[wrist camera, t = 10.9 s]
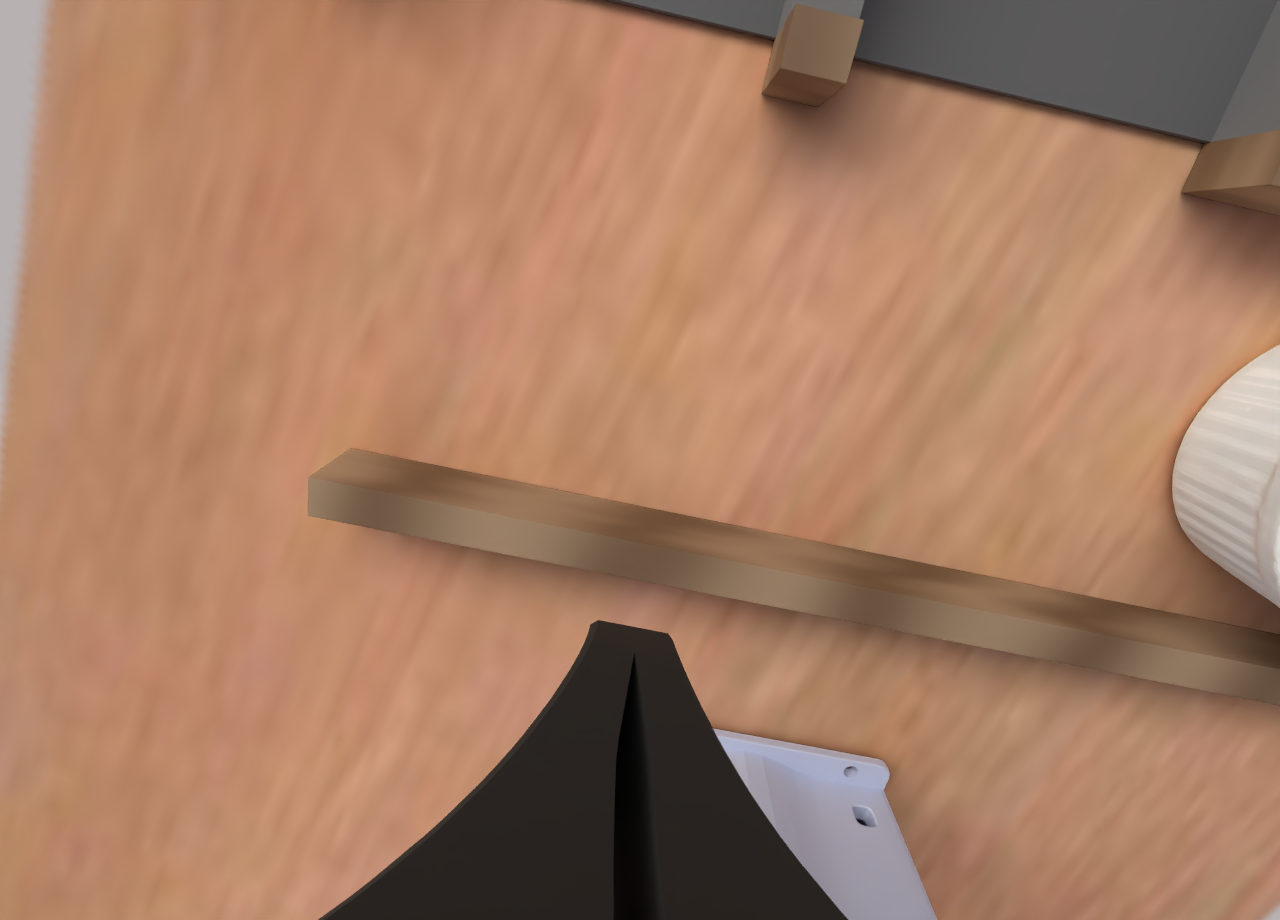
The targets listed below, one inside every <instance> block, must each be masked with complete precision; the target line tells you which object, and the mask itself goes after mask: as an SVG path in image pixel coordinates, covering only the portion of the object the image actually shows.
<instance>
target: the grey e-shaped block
mask: <svg viewBox="0 0 1280 920" xmlns="http://www.w3.org/2000/svg"><path fill="white" fill-rule="evenodd" d="M608 1H613V2H617V3H621V4H625V5H629V6H633V7H638V8H642V9H646V10H650V11H654V12H659V13H663V14H667V15H671V16H675V17H679V18H684V19H688V20H692V21H696V22H700V23H705V24H709V25H713V26H717V27H721V28H725V29H730V30H734V31H738V32H742V33H746V34H750V35H755V36H759V37H763V38H767V39H771V40H775V38H776V37H777V35H778V33H779V32H780V30H781V28H782V27H783V25H784V23H785V21H786V20H787V18H788V16H789V15H790V13H791V11H792V10H793V8H794V6H795V4H800V5H804V6H808V7H812V8H817V9H821V10H825V11H829V12H833V13H837V14H841V15H845V16H849V17H854V18H858V19H862V20H864V22H863V26H862V29H861V33H860V37H859V40H858V44H857V47H856V51H855V54H854V58H853V59H855V60H859V61H863V62H867V63H872V64H876V65H880V66H884V67H888V68H892V69H897V70H901V71H905V72H909V73H913V74H918V75H922V76H926V77H930V78H934V79H938V80H943V81H947V82H951V83H955V84H959V85H964V86H968V87H972V88H976V89H980V90H984V91H989V92H993V93H997V94H1001V95H1005V96H1009V97H1014V98H1018V99H1022V100H1026V101H1030V102H1035V103H1039V104H1043V105H1047V106H1051V107H1055V108H1060V109H1064V110H1068V111H1072V112H1076V113H1080V114H1085V115H1089V116H1093V117H1097V118H1101V119H1106V120H1110V121H1114V122H1118V123H1122V124H1126V125H1131V126H1135V127H1139V128H1143V129H1147V130H1151V131H1156V132H1160V133H1164V134H1168V135H1172V136H1177V137H1181V138H1185V139H1189V140H1193V141H1197V142H1202V143H1208V142H1213V141H1219V140H1225V139H1230V138H1236V137H1241V136H1247V135H1252V134H1258V133H1264V132H1269V131H1275V130H1280V0H608Z"/></svg>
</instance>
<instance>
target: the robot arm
mask: <svg viewBox="0 0 1280 920" xmlns="http://www.w3.org/2000/svg"><path fill="white" fill-rule="evenodd" d="M850 766H853V767H851V768H849V769H845V768H847V767H850ZM889 777H890V772H889V769H888V767H887V765H886V763H885V762H884V761H883V760H880V759H876V758H871V757H865V756H860V755H854V754H849V753H844V752H838V751H833V750H827V749H822V748H817V747H811V746H806V745H800V744H795V743H789V742H784V741H779V740H773V739H768V738H762V737H757V736H752V735H746V734H741V733H735V732H730V731H725V730H719V729H714V728H712V726H711V724H710V722H709V720H708V718H707V716H706V714H705V712H704V710H703V708H702V706H701V705H700V702H699V700H698V698H697V696H696V694H695V692H694V690H693V688H692V686H691V683H690V681H689V679H688V677H687V675H686V672H685V670H684V668H683V665H682V663H681V660H680V658H679V656H678V653H677V651H676V648H675V645H674V643H673V640H672V639H671V637H670V636H669V634H668V633H662V632H657V631H652V630H647V629H641V628H636V627H631V626H626V625H621V624H615V623H610V622H605V621H600V620H598V621H596V622H594V623H592V624H591V625H590V629H589V632H588V635H587V638H586V640H585V643H584V645H583V647H582V649H581V651H580V653H579V655H578V657H577V658H576V660H575V662H574V664H573V666H572V667H571V669H570V671H569V672H568V674H567V675H566V677H565V678H564V680H563V681H562V683H561V684H560V686H559V687H558V689H557V691H556V692H555V694H554V695H553V697H552V698H551V699H550V701H549V702H548V704H547V705H546V706H545V707H544V709H543V710H542V711H541V713H540V714H539V715H538V717H537V718H536V719H535V720H534V722H533V723H532V724H531V726H530V727H529V728H528V730H527V731H526V732H525V733H524V735H523V736H522V737H521V738H520V739H519V741H518V742H517V743H516V744H515V745H514V747H513V748H512V749H511V750H510V751H509V752H508V753H507V755H506V756H505V757H504V758H503V759H502V760H501V761H500V762H499V763H498V765H497V766H496V767H495V768H494V769H493V770H492V771H491V772H490V773H489V774H488V775H487V776H486V778H485V779H484V780H483V781H482V782H481V783H480V784H479V785H478V786H477V787H476V788H475V789H474V790H473V791H472V792H471V793H470V794H469V795H467V796H466V797H465V798H464V799H463V800H462V801H461V802H460V803H459V804H458V805H457V806H456V807H455V808H454V809H453V810H452V811H451V812H450V813H449V814H448V815H447V816H446V817H445V818H444V819H443V820H442V821H440V822H439V823H438V824H437V825H436V826H435V827H434V828H433V829H432V830H431V831H429V832H428V833H427V834H426V835H425V836H424V837H422V838H421V839H420V840H419V841H418V842H416V843H415V844H414V845H413V846H412V847H410V848H409V849H408V850H407V851H406V852H404V853H403V854H402V855H401V856H400V857H399V858H397V859H396V860H395V861H394V862H393V863H391V864H390V865H389V866H388V867H387V868H385V869H384V870H383V871H382V872H381V873H379V874H378V875H377V876H376V877H375V878H373V879H372V880H371V881H370V882H368V883H367V884H366V885H365V886H363V887H362V888H361V889H359V890H358V891H357V892H356V893H354V894H353V895H352V896H350V897H349V898H348V899H346V900H345V901H343V902H342V903H341V904H339V905H338V906H337V907H335V908H334V909H332V910H331V911H330V912H328V913H327V914H325V915H324V916H323V917H321V918H320V919H319V920H937V918H936V915H935V913H934V910H933V908H932V906H931V903H930V901H929V898H928V896H927V894H926V891H925V889H924V886H923V884H922V882H921V879H920V877H919V874H918V872H917V869H916V867H915V865H914V862H913V860H912V857H911V855H910V853H909V850H908V848H907V845H906V843H905V841H904V838H903V836H902V833H901V831H900V829H899V826H898V824H897V821H896V819H895V816H894V814H893V812H892V809H891V807H890V804H889V802H888V800H887V797H886V795H885V792H884V789H885V787H886V784H887V782H888V780H889Z"/></svg>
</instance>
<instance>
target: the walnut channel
mask: <svg viewBox="0 0 1280 920" xmlns="http://www.w3.org/2000/svg"><path fill="white" fill-rule="evenodd" d="M863 22H864V20H862V19H858V18H854V17H849V16H845V15H841V14H837V13H833V12H829V11H825V10H821V9H817V8H812V7H808V6H804V5H800V4H795V6H794V8H793V10H792V11H791V13H790V15H789V16H788V18H787V20H786V21H785V23H784V25H783V27H782V28H781V30H780V32H779V33H778V35H777V37H776V38H775V40H774V44H773V48H772V52H771V57H770V61H769V65H768V69H767V73H766V77H765V81H764V86H763V90H762V94H764V95H768V96H772V97H777V98H781V99H785V100H789V101H794V102H798V103H802V104H806V105H811V106H815V107H819V106H820V105H821V104H822V103H823V102H825V101H826V100H827V99H828V98H829V97H831V96H832V95H833V94H834V93H836V92H837V91H838V90H839V89H840V88H842V87H843V86H844V85H845V84H846V83H847V79H848V76H849V72H850V69H851V65H852V61H853V58H854V54H855V51H856V47H857V44H858V40H859V37H860V33H861V29H862V26H863ZM1181 193H1185V194H1189V195H1194V196H1198V197H1202V198H1206V199H1211V200H1215V201H1219V202H1223V203H1228V204H1232V205H1236V206H1240V207H1245V208H1249V209H1253V210H1257V211H1262V212H1266V213H1270V214H1274V215H1279V216H1280V130H1275V131H1269V132H1264V133H1258V134H1252V135H1247V136H1241V137H1236V138H1230V139H1225V140H1219V141H1213V142H1208V143H1204V145H1203V147H1202V149H1201V151H1200V153H1199V156H1198V158H1197V160H1196V162H1195V164H1194V166H1193V168H1192V170H1191V173H1190V175H1189V177H1188V179H1187V181H1186V183H1185V185H1184V187H1183V190H1182V192H1181ZM308 516H312V517H317V518H322V519H327V520H332V521H338V522H343V523H348V524H353V525H358V526H363V527H368V528H373V529H378V530H384V531H389V532H394V533H399V534H404V535H409V536H414V537H419V538H425V539H430V540H435V541H440V542H445V543H450V544H455V545H460V546H466V547H471V548H476V549H481V550H486V551H491V552H496V553H501V554H507V555H512V556H517V557H522V558H527V559H532V560H537V561H542V562H548V563H553V564H558V565H563V566H568V567H573V568H578V569H583V570H589V571H594V572H599V573H604V574H609V575H614V576H619V577H624V578H630V579H635V580H640V581H645V582H650V583H655V584H660V585H665V586H671V587H676V588H681V589H686V590H691V591H696V592H701V593H706V594H712V595H717V596H722V597H727V598H732V599H737V600H742V601H747V602H753V603H758V604H763V605H768V606H773V607H778V608H783V609H788V610H794V611H799V612H804V613H809V614H814V615H819V616H824V617H829V618H835V619H840V620H845V621H850V622H855V623H860V624H865V625H870V626H875V627H881V628H886V629H891V630H896V631H901V632H906V633H911V634H916V635H922V636H927V637H932V638H937V639H942V640H947V641H952V642H957V643H963V644H968V645H973V646H978V647H983V648H988V649H993V650H998V651H1004V652H1009V653H1014V654H1019V655H1024V656H1029V657H1034V658H1039V659H1045V660H1050V661H1055V662H1060V663H1065V664H1070V665H1075V666H1080V667H1086V668H1091V669H1096V670H1101V671H1106V672H1111V673H1116V674H1121V675H1127V676H1132V677H1137V678H1142V679H1147V680H1152V681H1157V682H1162V683H1168V684H1173V685H1178V686H1183V687H1188V688H1193V689H1198V690H1203V691H1209V692H1214V693H1219V694H1224V695H1229V696H1234V697H1239V698H1244V699H1250V700H1255V701H1260V702H1265V703H1270V704H1275V705H1280V635H1278V634H1273V633H1268V632H1263V631H1258V630H1253V629H1248V628H1243V627H1238V626H1233V625H1228V624H1223V623H1218V622H1213V621H1208V620H1203V619H1198V618H1193V617H1188V616H1183V615H1178V614H1173V613H1168V612H1163V611H1158V610H1154V609H1149V608H1144V607H1139V606H1134V605H1129V604H1124V603H1119V602H1114V601H1109V600H1104V599H1099V598H1094V597H1089V596H1084V595H1079V594H1074V593H1069V592H1064V591H1059V590H1054V589H1049V588H1044V587H1039V586H1034V585H1029V584H1024V583H1019V582H1014V581H1009V580H1004V579H999V578H994V577H989V576H984V575H979V574H974V573H969V572H964V571H959V570H954V569H949V568H944V567H939V566H935V565H930V564H925V563H920V562H915V561H910V560H905V559H900V558H895V557H890V556H885V555H880V554H875V553H870V552H865V551H860V550H855V549H850V548H845V547H840V546H835V545H830V544H825V543H820V542H815V541H810V540H805V539H800V538H795V537H790V536H785V535H780V534H775V533H770V532H765V531H760V530H755V529H750V528H745V527H740V526H735V525H730V524H725V523H720V522H715V521H711V520H706V519H701V518H696V517H691V516H686V515H681V514H676V513H671V512H666V511H661V510H656V509H651V508H646V507H641V506H636V505H631V504H626V503H621V502H616V501H611V500H606V499H601V498H596V497H591V496H586V495H581V494H576V493H571V492H566V491H561V490H556V489H551V488H546V487H541V486H536V485H531V484H526V483H521V482H516V481H511V480H506V479H501V478H496V477H491V476H487V475H482V474H477V473H472V472H467V471H462V470H457V469H452V468H447V467H442V466H437V465H432V464H427V463H422V462H417V461H412V460H407V459H402V458H397V457H392V456H387V455H382V454H377V453H372V452H367V451H362V450H357V449H352V448H351V449H349V450H348V451H346V452H345V453H343V454H342V455H340V456H339V457H338V458H336V459H335V460H333V461H332V462H330V463H329V464H327V465H326V466H324V467H323V468H321V469H320V470H318V471H317V472H315V473H314V474H312V475H311V476H309V481H308Z"/></svg>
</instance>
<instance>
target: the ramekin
mask: <svg viewBox="0 0 1280 920" xmlns="http://www.w3.org/2000/svg"><path fill="white" fill-rule="evenodd" d="M1172 478H1173V480H1172V497H1173V503H1174V507H1175V513H1176V516H1177V518H1178V521H1179V523H1180V525H1181V528H1182V529H1183V531H1184V532H1185V534H1186V535H1187V537H1188V538H1189V539H1190V541H1191V542H1192V543H1194V545H1195V546H1196V547H1197V548H1198V549H1199V550H1200V551H1201V552H1202V553H1203V554H1205V555H1206V556H1207V557H1209V558H1210V559H1211V560H1213V561H1214V562H1215V563H1217V564H1218V565H1219V566H1221V567H1222V568H1223V569H1225V570H1226V571H1228V572H1229V573H1230V574H1232V575H1233V576H1235V577H1236V578H1237V579H1239V580H1240V581H1242V582H1243V583H1245V584H1246V585H1248V586H1249V587H1251V588H1252V589H1254V590H1255V591H1256V592H1258V593H1259V594H1261V595H1262V596H1264V597H1265V598H1267V599H1268V600H1269V601H1271V602H1272V603H1274V604H1275V605H1277V606H1278V607H1279V608H1280V345H1278V346H1276V347H1274V348H1272V349H1270V350H1269V351H1267V352H1265V353H1263V354H1262V355H1260V356H1259V357H1257V358H1256V359H1254V360H1253V361H1251V362H1250V363H1248V364H1247V365H1245V366H1244V367H1243V368H1241V369H1240V370H1239V371H1238V372H1237V373H1235V374H1234V375H1233V376H1232V377H1231V378H1229V379H1228V380H1227V381H1226V382H1225V383H1224V384H1223V385H1222V386H1221V387H1220V388H1219V389H1218V390H1217V391H1216V392H1215V393H1214V394H1213V395H1212V396H1211V397H1210V399H1209V400H1208V401H1207V402H1206V404H1205V405H1204V406H1203V407H1202V409H1201V410H1200V411H1199V412H1198V414H1197V415H1196V417H1195V418H1194V420H1193V422H1192V423H1191V425H1190V427H1189V428H1188V430H1187V432H1186V434H1185V436H1184V438H1183V440H1182V443H1181V445H1180V448H1179V450H1178V453H1177V457H1176V460H1175V464H1174V469H1173V476H1172Z"/></svg>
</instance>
